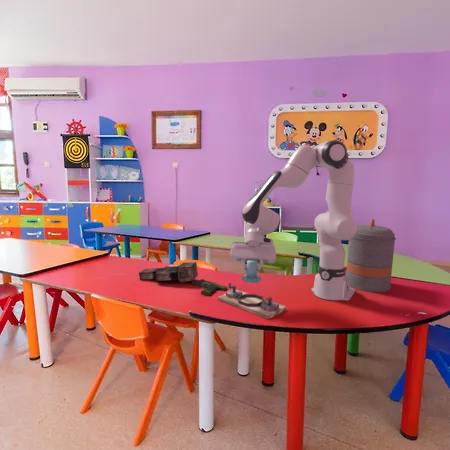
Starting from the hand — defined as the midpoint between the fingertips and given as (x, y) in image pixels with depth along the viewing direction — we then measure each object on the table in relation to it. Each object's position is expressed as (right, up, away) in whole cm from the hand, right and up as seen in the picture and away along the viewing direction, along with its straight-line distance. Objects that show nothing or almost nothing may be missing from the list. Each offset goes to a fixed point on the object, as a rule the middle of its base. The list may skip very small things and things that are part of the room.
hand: (251, 269), depth 139 cm
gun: (-21, -13, +23) cm, 34 cm away
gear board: (0, -16, +3) cm, 16 cm away
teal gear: (0, -5, +1) cm, 5 cm away
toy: (-42, -10, +36) cm, 56 cm away
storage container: (+64, -12, +32) cm, 72 cm away
